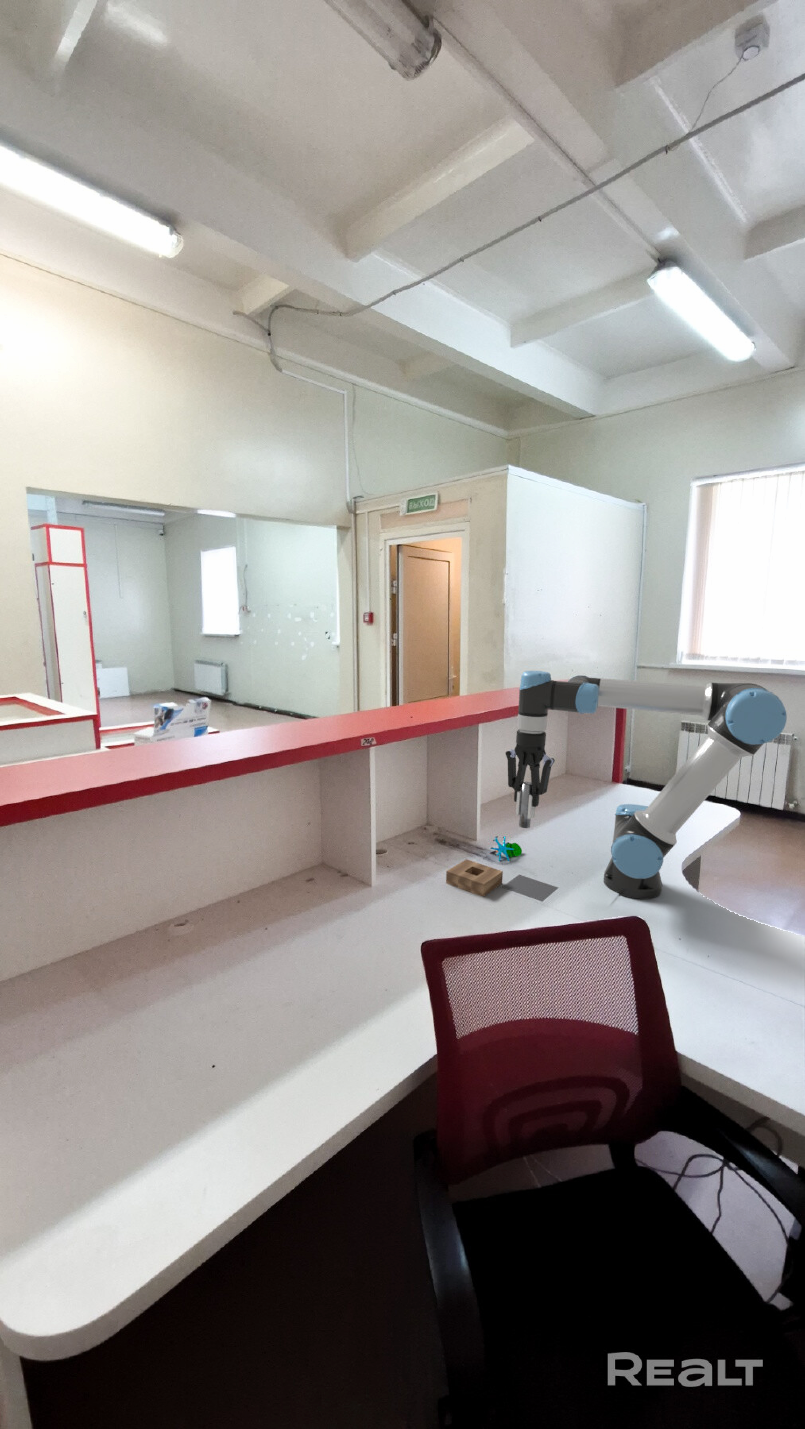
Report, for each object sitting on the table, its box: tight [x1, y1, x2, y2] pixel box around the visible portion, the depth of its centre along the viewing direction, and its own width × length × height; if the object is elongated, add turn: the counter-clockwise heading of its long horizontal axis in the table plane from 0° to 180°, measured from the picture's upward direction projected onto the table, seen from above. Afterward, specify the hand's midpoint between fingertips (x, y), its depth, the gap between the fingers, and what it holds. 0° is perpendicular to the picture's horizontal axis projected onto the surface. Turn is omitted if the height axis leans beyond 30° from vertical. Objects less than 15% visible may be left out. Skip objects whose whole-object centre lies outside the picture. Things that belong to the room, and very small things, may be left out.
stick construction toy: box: [489, 835, 523, 862], centre depth 181 cm, size 12×7×8 cm
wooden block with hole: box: [445, 858, 504, 898], centre depth 162 cm, size 12×10×4 cm
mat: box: [501, 874, 559, 902], centre depth 160 cm, size 12×10×1 cm
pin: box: [518, 781, 532, 829], centre depth 156 cm, size 3×3×12 cm
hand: (525, 815), depth 157 cm, fingers closed on pin, 3 cm apart
